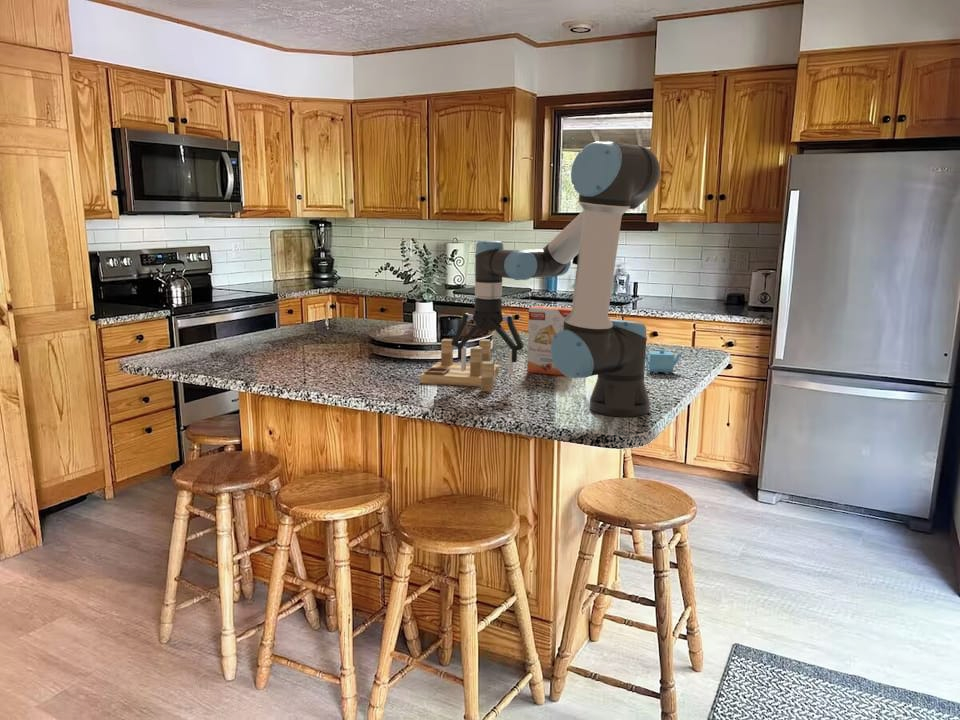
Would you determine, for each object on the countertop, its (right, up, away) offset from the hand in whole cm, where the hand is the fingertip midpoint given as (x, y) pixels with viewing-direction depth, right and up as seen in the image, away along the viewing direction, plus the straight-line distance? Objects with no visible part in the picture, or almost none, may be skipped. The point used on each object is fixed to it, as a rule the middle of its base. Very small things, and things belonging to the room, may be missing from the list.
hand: (486, 372), depth 202 cm
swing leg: (-1, +1, +17) cm, 17 cm away
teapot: (+57, -1, +25) cm, 62 cm away
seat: (-8, -2, +16) cm, 18 cm away
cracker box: (+20, -1, +24) cm, 31 cm away
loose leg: (0, -5, +1) cm, 5 cm away
